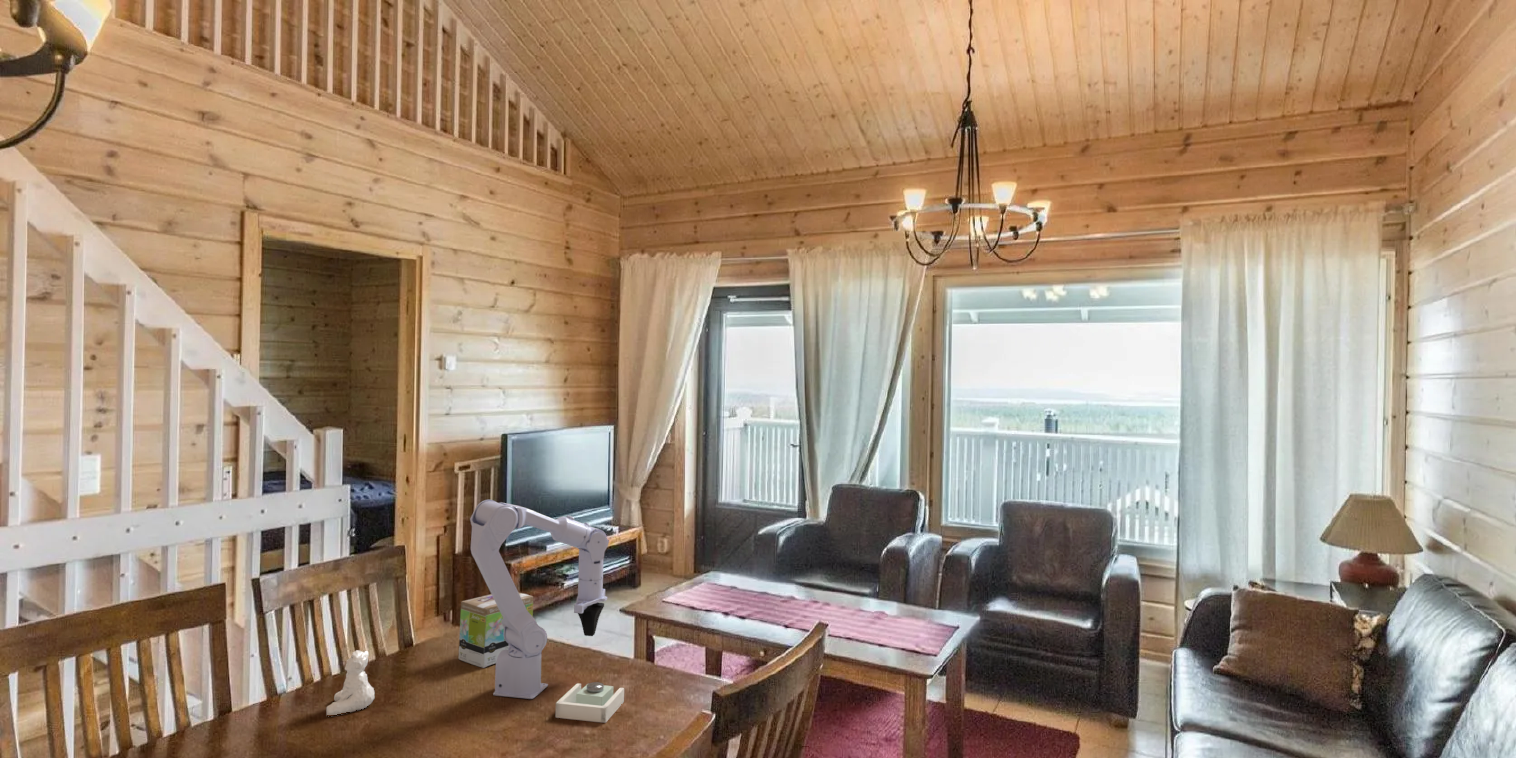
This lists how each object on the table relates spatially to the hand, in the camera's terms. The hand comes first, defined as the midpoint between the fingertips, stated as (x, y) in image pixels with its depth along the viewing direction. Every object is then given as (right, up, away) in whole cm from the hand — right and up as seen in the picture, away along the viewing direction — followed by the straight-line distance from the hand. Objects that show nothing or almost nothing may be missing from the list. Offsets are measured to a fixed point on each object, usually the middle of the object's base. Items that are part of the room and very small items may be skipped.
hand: (589, 635), depth 194 cm
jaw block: (+5, -10, -17) cm, 20 cm away
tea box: (-26, -9, +11) cm, 29 cm away
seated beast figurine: (-46, -9, -21) cm, 51 cm away
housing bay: (+4, -10, -19) cm, 22 cm away
